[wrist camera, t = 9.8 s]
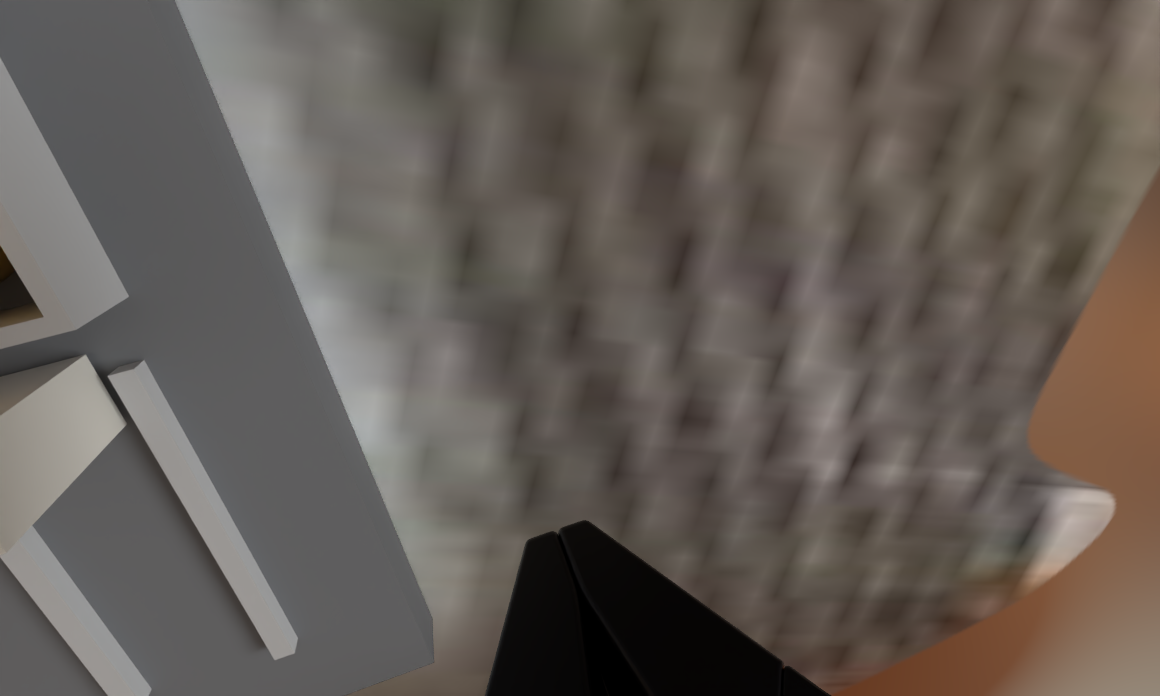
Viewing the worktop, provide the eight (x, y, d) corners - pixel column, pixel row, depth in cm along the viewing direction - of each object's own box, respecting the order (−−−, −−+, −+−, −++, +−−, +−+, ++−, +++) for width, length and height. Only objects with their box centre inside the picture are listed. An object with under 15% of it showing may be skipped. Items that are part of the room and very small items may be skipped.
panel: (432, 618, 23) (436, 729, 18) (91, 740, 21) (12, 892, 17) (25, -358, 12) (-181, -611, 8) (-768, -290, 10) (-1596, -576, 6)
